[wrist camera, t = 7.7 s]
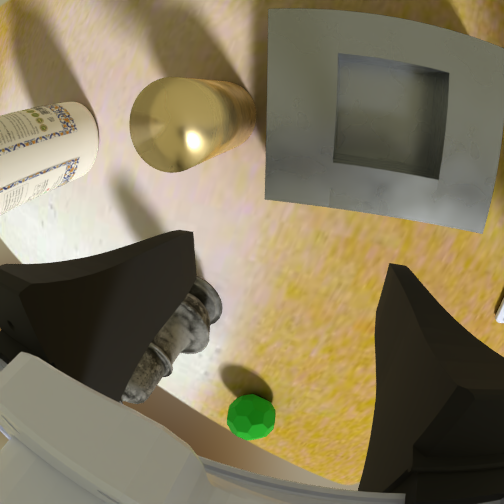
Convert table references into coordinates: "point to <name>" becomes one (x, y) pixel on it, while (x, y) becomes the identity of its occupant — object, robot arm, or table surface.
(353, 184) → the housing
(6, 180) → the bath foam
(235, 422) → the polyhedron
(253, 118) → the plug
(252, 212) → the table surface
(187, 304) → the grey chess piece
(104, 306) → the robot arm
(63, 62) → the table surface
